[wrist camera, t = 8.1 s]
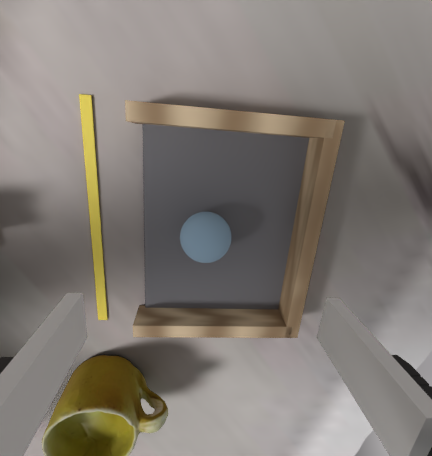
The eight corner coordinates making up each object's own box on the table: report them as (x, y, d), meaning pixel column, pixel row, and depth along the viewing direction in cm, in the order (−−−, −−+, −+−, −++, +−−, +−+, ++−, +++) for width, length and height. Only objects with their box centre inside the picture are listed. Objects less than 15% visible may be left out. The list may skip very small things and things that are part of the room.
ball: (176, 251, 28) (183, 274, 23) (177, 205, 26) (185, 220, 21) (220, 249, 29) (235, 270, 24) (224, 206, 27) (241, 220, 23)
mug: (58, 425, 33) (30, 508, 24) (66, 345, 33) (41, 397, 24) (155, 412, 37) (164, 479, 28) (163, 342, 37) (174, 384, 28)
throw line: (98, 319, 31) (98, 319, 30) (79, 94, 23) (79, 94, 23) (107, 319, 31) (107, 319, 31) (91, 95, 23) (90, 95, 23)
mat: (146, 305, 31) (145, 307, 30) (143, 124, 24) (142, 123, 24) (277, 307, 32) (278, 309, 32) (307, 137, 26) (309, 137, 25)
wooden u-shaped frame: (139, 315, 31) (133, 337, 28) (134, 105, 24) (125, 100, 20) (286, 317, 33) (297, 337, 29) (325, 122, 25) (344, 120, 22)
